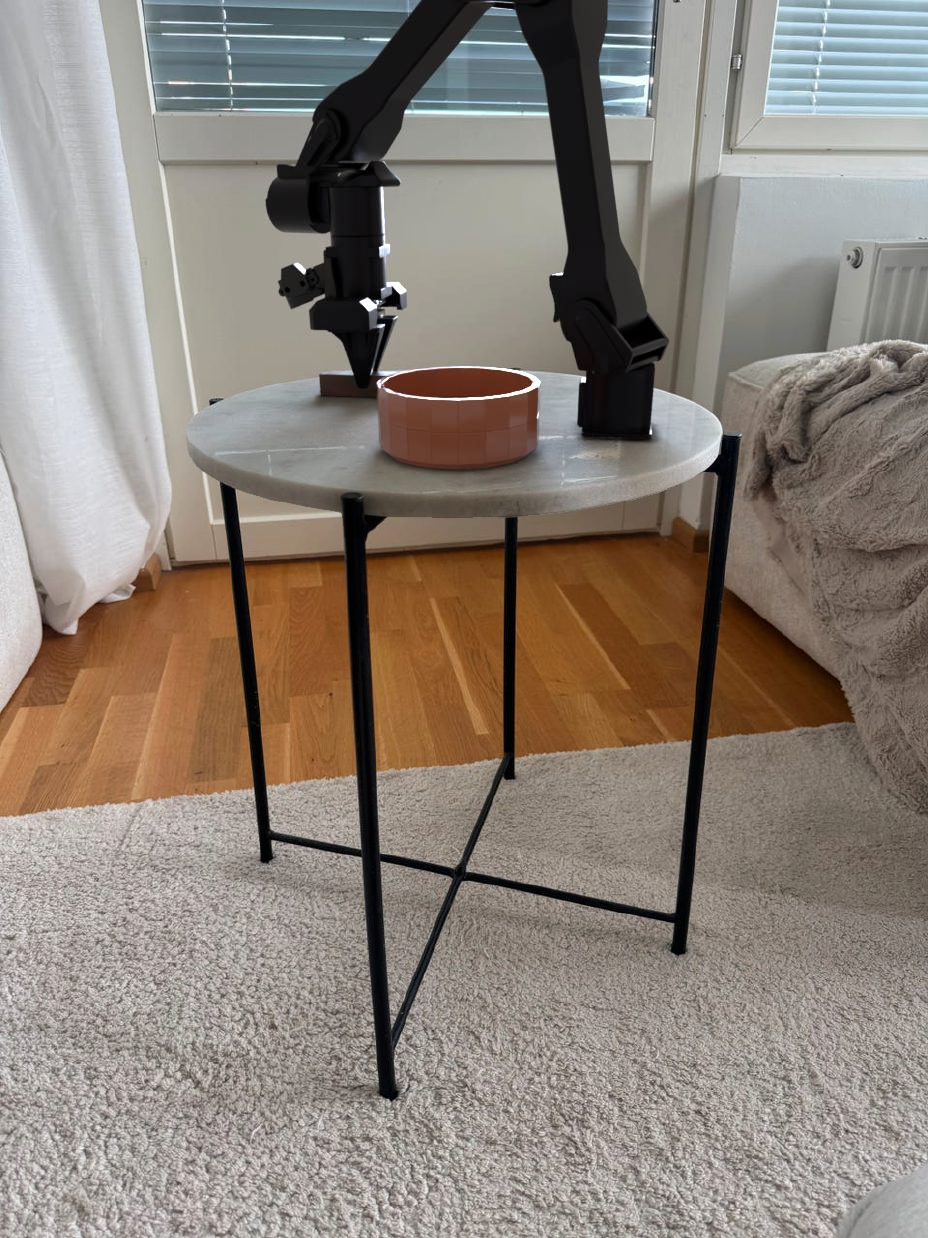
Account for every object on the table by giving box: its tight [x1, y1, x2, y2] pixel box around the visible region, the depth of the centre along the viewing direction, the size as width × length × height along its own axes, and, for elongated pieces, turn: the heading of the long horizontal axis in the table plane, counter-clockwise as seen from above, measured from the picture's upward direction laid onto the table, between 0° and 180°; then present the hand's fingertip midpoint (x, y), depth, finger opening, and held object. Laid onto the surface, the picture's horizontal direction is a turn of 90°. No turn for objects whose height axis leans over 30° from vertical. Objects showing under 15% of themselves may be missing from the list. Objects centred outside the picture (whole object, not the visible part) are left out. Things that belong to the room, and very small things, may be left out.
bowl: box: [376, 365, 541, 471], centre depth 81 cm, size 14×14×6 cm
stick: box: [318, 369, 399, 398], centre depth 103 cm, size 10×2×2 cm, turn 81°
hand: (365, 385), depth 103 cm, fingers closed on stick, 2 cm apart
